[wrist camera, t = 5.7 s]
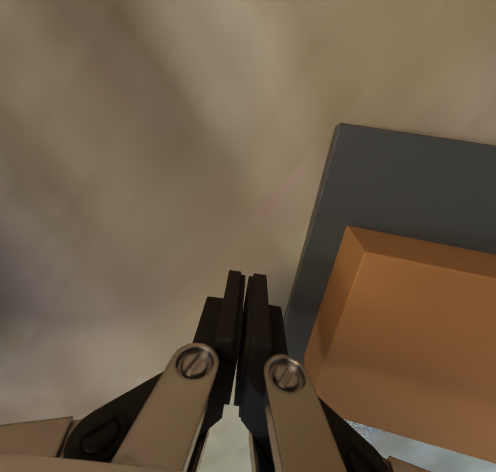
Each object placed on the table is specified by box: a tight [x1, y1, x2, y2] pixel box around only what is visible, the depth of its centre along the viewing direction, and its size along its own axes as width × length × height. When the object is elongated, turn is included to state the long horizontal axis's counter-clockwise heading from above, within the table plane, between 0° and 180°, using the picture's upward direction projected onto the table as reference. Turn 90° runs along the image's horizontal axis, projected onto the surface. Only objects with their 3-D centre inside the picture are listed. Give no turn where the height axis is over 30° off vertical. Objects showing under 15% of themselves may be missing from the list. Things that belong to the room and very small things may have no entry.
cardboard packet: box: [304, 226, 496, 463], centre depth 10 cm, size 8×8×4 cm
